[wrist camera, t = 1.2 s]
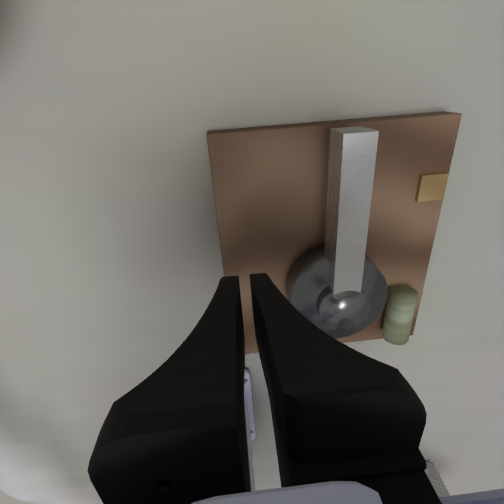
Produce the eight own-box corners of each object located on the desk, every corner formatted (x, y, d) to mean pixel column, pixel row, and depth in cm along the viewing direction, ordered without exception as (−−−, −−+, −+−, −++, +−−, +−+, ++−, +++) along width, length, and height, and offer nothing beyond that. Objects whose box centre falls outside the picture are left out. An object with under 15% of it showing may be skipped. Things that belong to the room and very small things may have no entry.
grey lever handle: (368, 312, 23) (388, 344, 20) (286, 321, 23) (295, 354, 20) (393, 120, 17) (427, 127, 14) (282, 129, 17) (294, 138, 14)
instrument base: (403, 322, 26) (425, 351, 23) (233, 341, 26) (235, 373, 23) (444, 111, 19) (485, 116, 16) (207, 130, 18) (204, 139, 15)
